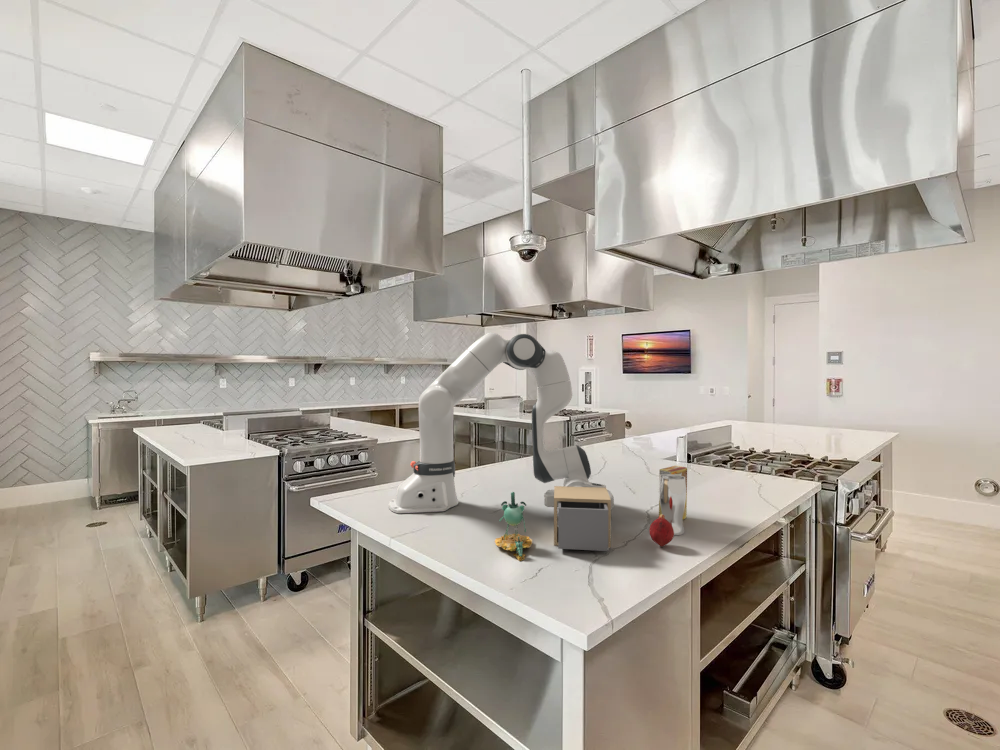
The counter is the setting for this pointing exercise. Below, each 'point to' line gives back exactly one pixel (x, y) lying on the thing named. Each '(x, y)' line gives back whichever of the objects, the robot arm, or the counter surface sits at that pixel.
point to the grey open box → (582, 526)
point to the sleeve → (581, 496)
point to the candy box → (676, 471)
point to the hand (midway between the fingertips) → (579, 507)
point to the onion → (661, 531)
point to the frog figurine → (513, 518)
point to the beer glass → (673, 500)
